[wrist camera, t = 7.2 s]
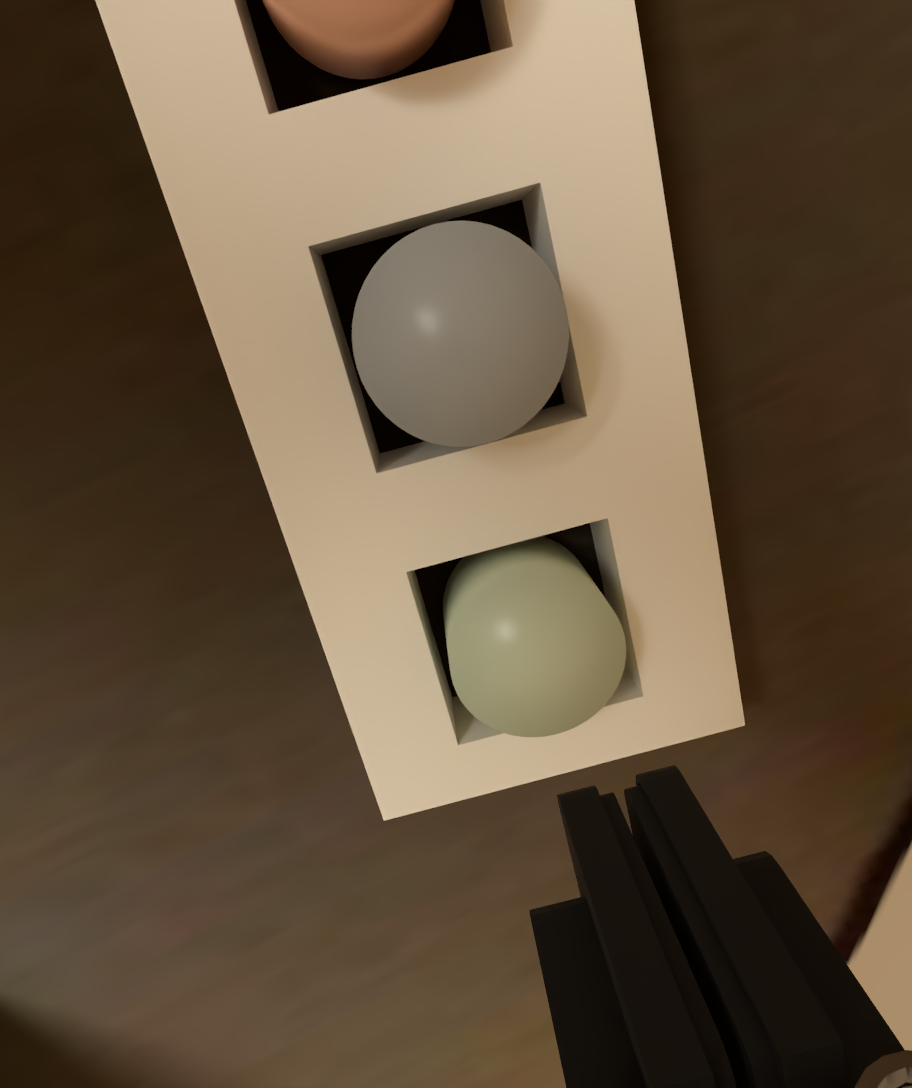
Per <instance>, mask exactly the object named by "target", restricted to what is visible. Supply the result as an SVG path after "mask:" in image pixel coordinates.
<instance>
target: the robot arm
mask: <svg viewBox="0 0 912 1088" xmlns="http://www.w3.org/2000/svg"><path fill="white" fill-rule="evenodd" d="M636 785H637V786H636V787H632V788H628V789H625V790H624V793H625V799H626V804H627V809H628V814H629V819H630V824H631V829H632V833H631V831H630V829H629V827H628V824H627V822H626V820H625V817H624V815H623V813H622V811H621V808H620V806H619V804H618V801H617V799H616V797H615V795H614V793H613V792H612V793H608V794H604V795H599V793H598V791H597V788H596V787H595V786H591V787H587V788H583V789H579V790H575V791H571V792H567V793H563V794H559V795H557V798H558V803H559V807H560V811H561V815H562V820H563V824H564V828H565V832H566V836H567V841H568V845H569V849H570V853H571V857H572V862H573V866H574V870H575V874H576V878H577V882H578V887H579V891H580V895H581V897H580V898H576V899H572V900H568V901H564V902H560V903H556V904H552V905H548V906H544V907H540V908H536V909H532V910H530V917H531V922H532V926H533V931H534V936H535V941H536V945H537V950H538V955H539V960H540V964H541V969H542V974H543V979H544V983H545V988H546V993H547V997H548V1002H549V1007H550V1012H551V1016H552V1021H553V1026H554V1031H555V1035H556V1040H557V1045H558V1049H559V1054H560V1059H561V1064H562V1068H563V1073H564V1078H565V1083H566V1087H567V1088H912V1051H909V1050H908V1051H907V1050H904V1049H903V1047H902V1045H901V1044H900V1043H899V1041H898V1040H897V1038H896V1037H895V1035H894V1034H893V1032H892V1031H891V1029H890V1028H889V1026H888V1025H887V1023H886V1022H885V1020H884V1019H883V1017H882V1016H881V1015H880V1013H879V1012H878V1010H877V1009H876V1007H875V1006H874V1004H873V1003H872V1001H871V1000H870V998H869V997H868V996H867V994H866V992H865V991H864V990H863V988H862V986H861V985H860V984H859V982H858V981H857V979H856V978H855V976H854V975H853V973H852V972H851V970H850V969H849V967H848V966H847V964H846V963H845V961H844V960H843V958H842V957H841V956H840V954H839V953H838V951H837V950H836V948H835V947H834V945H833V944H832V942H831V941H830V939H829V938H828V936H827V935H826V933H825V932H824V930H823V929H822V928H821V926H820V925H819V923H818V922H817V920H816V919H815V917H814V916H813V914H812V913H811V911H810V910H809V908H808V907H807V905H806V904H805V902H804V901H803V900H802V898H801V897H800V895H799V894H798V892H797V891H796V889H795V888H794V886H793V885H792V883H791V882H790V880H789V879H788V877H787V876H786V875H785V873H784V872H783V870H782V869H781V867H780V866H779V864H778V863H777V862H776V860H775V859H774V858H773V857H772V855H770V854H769V853H768V852H766V851H764V852H760V853H756V854H752V855H748V856H744V857H740V858H736V859H732V857H731V856H730V854H729V852H728V851H727V849H726V847H725V846H724V844H723V842H722V841H721V839H720V837H719V836H718V834H717V832H716V831H715V829H714V827H713V826H712V824H711V822H710V821H709V819H708V817H707V816H706V814H705V812H704V811H703V809H702V807H701V806H700V804H699V802H698V801H697V799H696V797H695V796H694V794H693V792H692V791H691V789H690V787H689V786H688V784H687V782H686V781H685V779H684V777H683V776H682V774H681V772H680V771H679V769H678V768H677V767H676V766H670V767H666V768H662V769H658V770H654V771H650V772H646V773H642V774H638V775H636ZM632 834H633V836H632Z"/></svg>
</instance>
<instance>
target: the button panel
mask: <svg viewBox="0 0 912 1088" xmlns="http://www.w3.org/2000/svg"><path fill="white" fill-rule="evenodd" d="M95 1H96V4H97V7H98V10H99V12H100V15H101V18H102V21H103V24H104V27H105V30H106V32H107V35H108V38H109V41H110V44H111V47H112V49H113V52H114V55H115V58H116V61H117V64H118V66H119V69H120V72H121V75H122V78H123V81H124V84H125V86H126V89H127V92H128V95H129V98H130V101H131V103H132V106H133V109H134V112H135V115H136V118H137V120H138V123H139V126H140V129H141V132H142V135H143V138H144V140H145V143H146V146H147V149H148V152H149V155H150V157H151V160H152V163H153V166H154V169H155V172H156V174H157V177H158V180H159V183H160V186H161V189H162V192H163V194H164V197H165V200H166V203H167V206H168V209H169V211H170V214H171V217H172V220H173V223H174V226H175V228H176V231H177V234H178V237H179V240H180V243H181V246H182V248H183V251H184V254H185V257H186V260H187V263H188V265H189V268H190V271H191V274H192V277H193V280H194V282H195V285H196V288H197V291H198V294H199V297H200V300H201V302H202V305H203V308H204V311H205V314H206V317H207V319H208V322H209V325H210V328H211V331H212V334H213V337H214V339H215V342H216V345H217V348H218V351H219V354H220V356H221V359H222V362H223V365H224V368H225V371H226V373H227V376H228V379H229V382H230V385H231V388H232V391H233V393H234V396H235V399H236V402H237V405H238V408H239V410H240V413H241V416H242V419H243V422H244V425H245V427H246V430H247V433H248V436H249V439H250V442H251V445H252V447H253V450H254V453H255V456H256V459H257V462H258V464H259V467H260V470H261V473H262V476H263V479H264V481H265V484H266V487H267V490H268V493H269V496H270V499H271V501H272V504H273V507H274V510H275V513H276V516H277V518H278V521H279V524H280V527H281V530H282V533H283V535H284V538H285V541H286V544H287V547H288V550H289V553H290V555H291V558H292V561H293V564H294V567H295V570H296V572H297V575H298V578H299V581H300V584H301V587H302V589H303V592H304V595H305V598H306V601H307V604H308V607H309V609H310V612H311V615H312V618H313V621H314V624H315V626H316V629H317V632H318V635H319V638H320V641H321V643H322V646H323V649H324V652H325V655H326V658H327V661H328V663H329V666H330V669H331V672H332V675H333V678H334V680H335V683H336V686H337V689H338V692H339V695H340V697H341V700H342V703H343V706H344V709H345V712H346V715H347V717H348V720H349V723H350V726H351V729H352V732H353V734H354V737H355V740H356V743H357V746H358V749H359V751H360V754H361V757H362V760H363V763H364V766H365V769H366V771H367V774H368V777H369V780H370V783H371V786H372V788H373V791H374V794H375V797H376V800H377V803H378V805H379V808H380V811H381V814H382V817H383V820H384V821H385V820H389V819H392V818H396V817H400V816H404V815H408V814H411V813H415V812H419V811H423V810H427V809H430V808H434V807H438V806H442V805H446V804H449V803H453V802H457V801H461V800H465V799H468V798H472V797H476V796H480V795H484V794H487V793H491V792H495V791H499V790H502V789H506V788H510V787H514V786H518V785H521V784H525V783H529V782H533V781H537V780H540V779H544V778H548V777H552V776H556V775H559V774H563V773H567V772H571V771H575V770H578V769H582V768H586V767H590V766H594V765H597V764H601V763H605V762H609V761H613V760H616V759H620V758H624V757H628V756H631V755H635V754H639V753H643V752H647V751H650V750H654V749H658V748H662V747H666V746H669V745H673V744H677V743H681V742H685V741H688V740H692V739H696V738H700V737H704V736H707V735H711V734H715V733H719V732H723V731H726V730H730V729H734V728H738V727H741V726H745V721H744V714H743V708H742V701H741V695H740V688H739V682H738V675H737V669H736V662H735V656H734V649H733V642H732V636H731V629H730V623H729V616H728V610H727V603H726V597H725V590H724V584H723V577H722V571H721V564H720V557H719V551H718V544H717V538H716V531H715V525H714V518H713V512H712V505H711V499H710V492H709V485H708V479H707V472H706V466H705V459H704V453H703V446H702V440H701V433H700V427H699V420H698V413H697V407H696V400H695V394H694V387H693V381H692V374H691V368H690V361H689V355H688V348H687V341H686V335H685V328H684V322H683V315H682V309H681V302H680V296H679V289H678V283H677V276H676V269H675V263H674V256H673V250H672V243H671V237H670V230H669V224H668V217H667V211H666V204H665V198H664V191H663V184H662V178H661V171H660V165H659V158H658V152H657V145H656V139H655V132H654V126H653V119H652V112H651V106H650V99H649V93H648V86H647V80H646V73H645V67H644V60H643V54H642V47H641V40H640V34H639V27H638V21H637V14H636V8H635V1H634V0H480V2H481V7H482V12H483V17H484V21H485V26H486V31H487V36H488V40H489V45H490V50H491V53H488V54H484V55H481V56H477V57H473V58H470V59H466V60H463V61H459V62H455V63H452V64H448V65H445V66H441V67H437V68H434V69H430V70H427V71H423V72H419V73H416V74H412V75H409V76H405V77H402V78H398V79H394V80H391V81H387V82H384V83H380V84H376V85H373V86H369V87H366V88H362V89H358V90H355V91H351V92H348V93H344V94H340V95H337V96H333V97H330V98H326V99H322V100H319V101H315V102H312V103H308V104H304V105H301V106H297V107H294V108H290V109H286V110H283V111H278V108H277V104H276V101H275V98H274V94H273V91H272V88H271V84H270V81H269V77H268V74H267V71H266V67H265V64H264V61H263V57H262V54H261V50H260V47H259V44H258V40H257V37H256V34H255V30H254V27H253V23H252V20H251V17H250V13H249V10H248V7H247V3H246V0H95ZM519 200H522V203H523V207H524V212H525V217H526V222H527V226H528V231H529V236H530V241H531V245H532V249H533V250H534V251H535V252H536V253H537V254H538V255H539V256H540V257H541V258H542V259H543V261H544V262H545V263H546V265H547V266H548V267H549V269H550V270H551V272H552V274H553V275H554V277H555V279H556V281H557V283H558V285H559V287H560V290H561V292H562V295H563V298H564V302H565V305H566V309H567V315H568V323H569V343H568V352H567V357H566V361H565V365H564V369H563V372H562V374H561V377H560V384H561V388H562V393H563V398H564V404H560V405H557V406H553V407H549V408H546V409H542V410H540V411H539V412H538V413H537V414H536V415H535V416H534V417H533V418H532V419H531V420H530V421H528V422H527V423H526V424H525V425H524V426H522V427H521V428H519V429H518V430H516V431H515V432H513V433H511V434H509V435H507V436H505V437H503V438H501V439H499V440H496V441H493V442H490V443H487V444H482V445H477V446H467V447H452V446H443V445H438V444H433V443H430V442H427V441H424V442H420V443H416V444H413V445H409V446H405V447H402V448H398V449H394V450H391V451H387V452H383V453H380V452H379V449H378V445H377V442H376V439H375V435H374V432H373V428H372V425H371V422H370V418H369V415H368V412H367V408H366V405H365V401H364V398H363V395H362V391H361V388H360V385H359V381H358V378H357V374H356V371H355V368H354V364H353V361H352V358H351V354H350V351H349V347H348V344H347V341H346V337H345V334H344V331H343V327H342V324H341V320H340V317H339V314H338V310H337V307H336V304H335V300H334V297H333V293H332V290H331V287H330V283H329V280H328V277H327V273H326V270H325V266H324V263H323V260H322V256H321V255H323V254H327V253H330V252H334V251H338V250H341V249H345V248H348V247H352V246H356V245H359V244H363V243H367V242H370V241H374V240H378V239H381V238H385V237H388V236H392V235H396V234H399V233H403V232H407V231H410V230H414V229H417V228H421V227H425V226H428V225H432V224H436V223H439V222H443V221H447V220H450V219H454V218H457V217H461V216H465V215H468V214H472V213H476V212H479V211H483V210H487V209H490V208H494V207H497V206H501V205H505V204H508V203H512V202H516V201H519ZM588 523H590V527H591V531H592V536H593V541H594V546H595V551H596V555H597V560H598V565H599V570H600V574H601V579H602V584H603V589H604V593H605V598H606V600H607V602H608V603H609V604H610V606H611V607H612V609H613V610H614V612H615V614H616V615H617V617H618V619H619V621H620V623H621V625H622V628H623V632H624V635H625V642H626V661H625V667H624V671H623V674H622V678H621V680H620V682H619V684H618V687H617V689H616V690H615V692H614V693H613V695H612V697H611V698H610V699H609V701H608V702H607V703H606V704H605V706H604V707H603V708H601V709H600V710H599V711H598V712H597V713H596V714H595V715H594V716H592V717H591V718H590V719H589V720H587V721H585V722H584V723H582V724H581V725H579V726H577V727H575V728H573V729H570V730H568V731H565V732H562V733H559V734H555V735H550V736H545V737H520V736H513V735H509V734H506V733H502V732H500V731H497V730H495V729H492V728H491V727H489V726H487V725H485V724H484V723H482V722H481V721H479V720H478V719H477V718H476V717H474V716H473V715H472V714H471V713H470V712H469V711H468V710H467V708H466V707H465V706H464V704H463V703H462V702H461V700H460V698H459V696H455V697H452V695H451V692H450V688H449V685H448V682H447V678H446V675H445V671H444V668H443V665H442V661H441V658H440V655H439V651H438V648H437V644H436V641H435V638H434V634H433V631H432V628H431V624H430V621H429V617H428V614H427V611H426V607H425V604H424V601H423V597H422V594H421V590H420V587H419V584H418V580H417V577H416V574H415V570H416V569H420V568H424V567H427V566H431V565H435V564H439V563H442V562H446V561H450V560H453V559H457V558H461V557H465V556H468V555H472V554H476V553H480V552H483V551H487V550H491V549H494V548H498V547H502V546H506V545H509V544H513V543H517V542H521V541H524V540H528V539H532V538H535V537H539V536H543V535H547V534H550V533H554V532H558V531H562V530H565V529H569V528H573V527H576V526H580V525H584V524H588Z"/></svg>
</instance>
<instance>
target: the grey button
mask: <svg viewBox="0 0 912 1088" xmlns="http://www.w3.org/2000/svg"><path fill="white" fill-rule="evenodd" d="M568 343H569V323H568V315H567V309H566V305H565V302H564V298H563V295H562V292H561V290H560V287H559V285H558V283H557V281H556V279H555V277H554V275H553V274H552V272H551V270H550V269H549V267H548V266H547V265H546V263H545V262H544V261H543V259H542V258H541V257H540V256H539V255H538V254H537V253H536V252H535V251H534V250H533V249H532V248H531V247H530V246H529V245H527V244H526V243H525V242H523V241H522V240H521V239H519V238H518V237H516V236H514V235H513V234H511V233H509V232H507V231H505V230H503V229H500V228H498V227H495V226H492V225H489V224H484V223H480V222H473V221H447V222H442V223H437V224H433V225H430V226H427V227H424V228H421V229H419V230H417V231H415V232H413V233H411V234H409V235H407V236H405V237H404V238H402V239H401V240H400V241H398V242H397V243H395V244H394V245H393V246H392V247H391V248H390V249H389V250H388V251H386V252H385V253H384V254H383V255H382V256H381V258H380V259H379V260H378V261H377V263H376V264H375V265H374V266H373V268H372V269H371V271H370V273H369V274H368V276H367V278H366V279H365V281H364V283H363V286H362V288H361V290H360V292H359V295H358V299H357V302H356V305H355V309H354V315H353V322H352V345H353V354H354V359H355V363H356V367H357V370H358V373H359V376H360V378H361V381H362V383H363V385H364V387H365V389H366V391H367V393H368V395H369V396H370V397H371V399H372V400H373V402H374V403H375V405H376V406H377V407H378V408H379V409H380V411H381V412H382V413H383V414H384V415H385V416H386V417H387V418H388V419H389V420H391V421H392V422H393V423H394V424H395V425H396V426H398V427H399V428H401V429H402V430H404V431H405V432H407V433H409V434H411V435H413V436H415V437H417V438H419V439H421V440H424V441H427V442H430V443H433V444H438V445H443V446H452V447H467V446H477V445H482V444H487V443H490V442H493V441H496V440H499V439H501V438H503V437H505V436H507V435H509V434H511V433H513V432H515V431H516V430H518V429H519V428H521V427H522V426H524V425H525V424H526V423H527V422H528V421H530V420H531V419H532V418H533V417H534V416H535V415H536V414H537V413H538V412H539V411H540V410H541V409H542V407H543V406H544V405H545V404H546V402H547V401H548V399H549V398H550V396H551V395H552V393H553V391H554V390H555V388H556V386H557V384H558V382H559V380H560V377H561V374H562V372H563V369H564V365H565V361H566V357H567V352H568Z"/></svg>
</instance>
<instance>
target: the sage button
mask: <svg viewBox="0 0 912 1088" xmlns="http://www.w3.org/2000/svg"><path fill="white" fill-rule="evenodd" d="M442 608H443V619H444V627H445V635H446V643H447V651H448V658H449V666H450V673H451V678H452V682H453V685H454V688H455V690H456V693H457V695H458V696H459V698H460V700H461V702H462V703H463V704H464V706H465V707H466V708H467V710H468V711H469V712H470V713H471V714H472V715H473V716H474V717H476V718H477V719H478V720H479V721H481V722H482V723H484V724H485V725H487V726H489V727H491V728H492V729H495V730H497V731H500V732H502V733H506V734H509V735H513V736H520V737H545V736H550V735H555V734H559V733H562V732H565V731H568V730H570V729H573V728H575V727H577V726H579V725H581V724H582V723H584V722H585V721H587V720H589V719H590V718H591V717H592V716H594V715H595V714H596V713H597V712H598V711H599V710H600V709H601V708H603V707H604V706H605V704H606V703H607V702H608V701H609V699H610V698H611V697H612V695H613V693H614V692H615V690H616V689H617V687H618V684H619V682H620V680H621V678H622V674H623V671H624V667H625V661H626V642H625V635H624V632H623V628H622V625H621V623H620V621H619V619H618V617H617V615H616V614H615V612H614V610H613V609H612V607H611V606H610V604H609V603H608V602H607V600H606V599H605V597H604V596H603V594H602V593H601V592H600V590H599V589H598V587H597V586H596V584H595V583H594V582H593V580H592V579H591V577H590V576H589V574H588V573H587V572H586V570H585V569H584V567H583V566H582V564H581V563H580V562H579V560H578V559H577V558H576V557H575V556H574V555H573V554H572V553H571V552H570V551H569V550H568V549H567V548H566V547H564V546H562V545H561V544H559V543H558V542H556V541H554V540H552V539H549V538H546V537H543V536H539V537H535V538H532V539H528V540H524V541H521V542H517V543H513V544H509V545H506V546H502V547H498V548H494V549H491V550H487V551H483V552H480V553H476V554H472V555H468V556H465V557H463V558H462V559H461V560H460V562H459V563H458V564H457V565H456V567H455V568H454V570H453V571H452V573H451V575H450V577H449V579H448V581H447V584H446V587H445V591H444V595H443V605H442Z"/></svg>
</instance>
